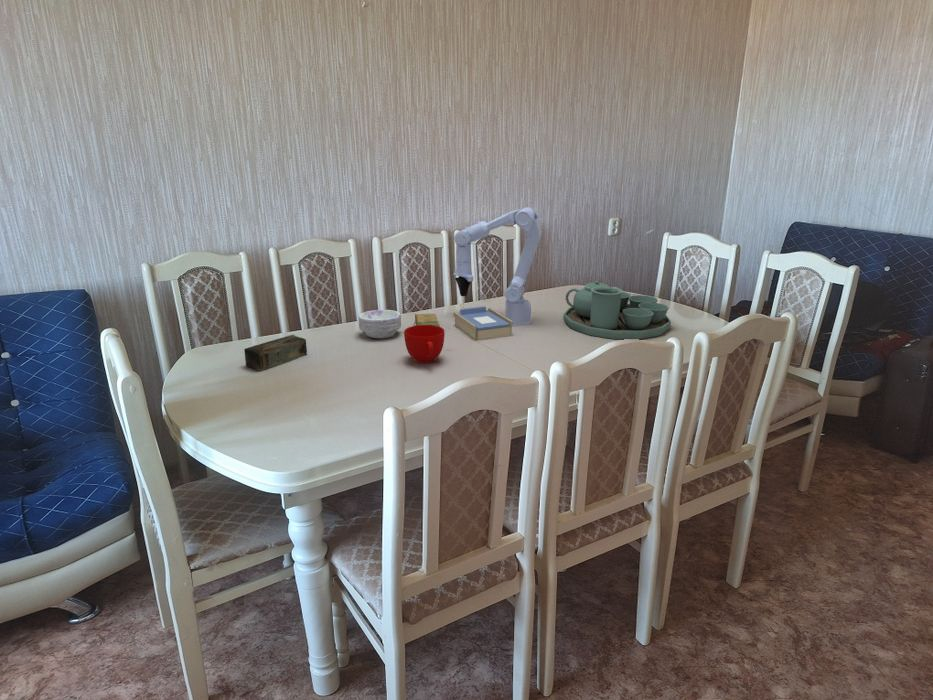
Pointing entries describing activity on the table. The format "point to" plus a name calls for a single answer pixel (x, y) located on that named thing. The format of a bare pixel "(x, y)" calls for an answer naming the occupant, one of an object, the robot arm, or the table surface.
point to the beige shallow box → (486, 333)
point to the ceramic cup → (424, 342)
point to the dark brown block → (275, 352)
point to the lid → (482, 318)
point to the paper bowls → (380, 323)
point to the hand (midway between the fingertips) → (463, 295)
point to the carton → (426, 319)
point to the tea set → (615, 313)
